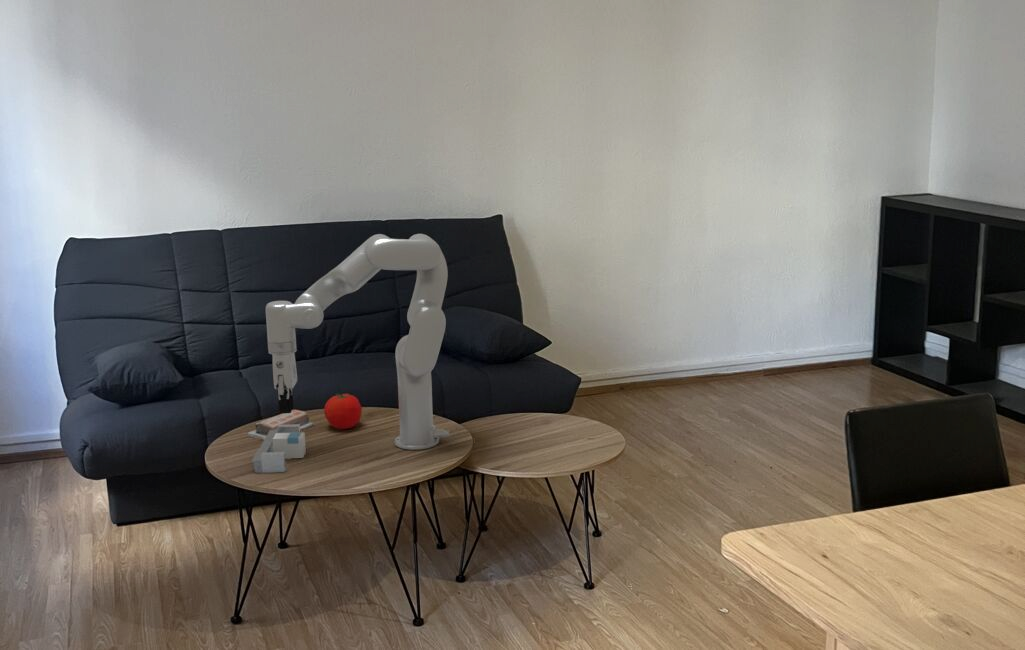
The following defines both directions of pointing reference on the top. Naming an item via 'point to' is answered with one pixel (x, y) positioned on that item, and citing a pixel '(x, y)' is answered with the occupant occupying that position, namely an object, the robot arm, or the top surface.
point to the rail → (272, 452)
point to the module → (290, 444)
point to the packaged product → (280, 423)
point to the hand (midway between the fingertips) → (286, 410)
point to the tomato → (343, 411)
